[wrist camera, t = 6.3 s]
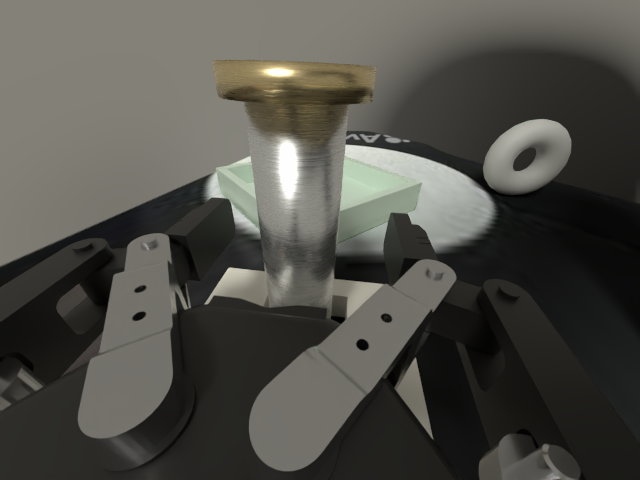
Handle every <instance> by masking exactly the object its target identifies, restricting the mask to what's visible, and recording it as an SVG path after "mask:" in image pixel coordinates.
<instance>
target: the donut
mask: <svg viewBox="0 0 640 480" xmlns="http://www.w3.org/2000/svg"><path fill="white" fill-rule="evenodd" d="M531 147H533V148H535V149H536V151H537V154H536V157H535V160H534V161H533V163H532V164H531V165H530V166H529V167H528V168H526V169H524V170H522V171H517V172H516V171H514V169H513V163H514V160H515V158H516V157H517V156H518V155H519V154H520V153H521V152H522V151H523V150H525V149H527V148H531ZM570 153H571V139H570V137H569V134H568V132H567V129H565V128H564V127H563V126H561V125H560V124H559V123H557V122H555V121H550V120H546V119H539V120H531V121H526V122H523V123H521V124H519V125H516V126H514V127H512V128H511V129H509V130H508V131H507V132H505V133H504V134H502V135H501V136H500V137H499V138H498V139H497V140H496V141H495V142H494V144H493V145H492V146H491V148H490V150H489V152H488V153H487V155H486V158H485V162H484V166H483V171H484V178H485V180H486V181H487V183H488V185H489V186H490V187H491V188H492V189H494V190H495V191H497V192H498V193H502V194H506V195H521V194H526V193H529V192H532V191H535V190H538V189H539V188H541V187H543V186H544V185H546V184H548V183H549V182H550V181H551V180H552V179H553V178H555V177H556V176H557V175H558V174H559V173H560V171H561V170H562V168H563V167H564V166H565V164H566V162H567V160H568V157H569V155H570Z"/></svg>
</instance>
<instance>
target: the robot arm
mask: <svg viewBox="0 0 640 480" xmlns="http://www.w3.org/2000/svg"><path fill="white" fill-rule="evenodd" d="M234 235H235V223H234V218H233V212H232V207H231V203H230V200H229V199H225V198H211V199H210V200H208V201H207V202H206V203H205V204H204V205H202V206H201V207H199V208H196V209H194V210H192V211H191V212H190V213H188V214H187V215H186V216H185V217H183V218H182V219H181V220H180V221H178V222H177V223H176V224H175V225H173V226H172V227H171V228H170V229H169V230H167V231H166V232H165V233H164V234H160V233H155V234H148V235H145V236H142V237H139V238H137V239H135V240H133V241H132V242H131V243H130V244H129V245H128V247H127V248H120V249H110V247H109V245H108V243H107V241H106V240H104V239H101V238H92V239H86V240H82V241H78V242H76V243H73V244H71V245H69V246H67V247H65V248H64V249H62V250H60V251H59V252H57V253H56V254H54V255H52V256H51V257H49V258H47V259H46V260H44V261H43V262H41V263H39V264H38V265H36V266H34V267H33V268H31V269H30V270H28V271H26V272H25V273H23V274H21V275H20V276H18V277H17V278H15V279H13V280H12V281H10V282H8V283H7V284H5V285H4V286H2V287H0V480H463V479H462V478H461V476H460V475H459V474H458V472H457V471H456V469H455V468H454V467H453V465H452V464H451V463H450V461H449V460H448V459H447V457H446V456H445V455H444V453H443V452H442V451H441V449H440V448H439V447H438V446H437V444H436V443H435V442H434V440H433V439H432V438H431V436H430V435H429V434H428V432H427V431H426V430H425V428H424V427H423V426H422V424H421V423H420V422H419V420H418V419H417V418H416V416H415V415H414V414H413V412H412V411H411V410H410V408H409V407H408V406H407V404H406V403H405V402H404V400H403V399H402V398H401V396H400V395H399V394H398V392H397V391H396V389H397V388H398V386H399V385H400V383H401V381H402V380H403V378H404V376H405V374H406V372H407V370H408V368H409V367H410V365H411V363H412V362H413V360H414V359H415V357H416V356H417V354H418V353H419V351H420V350H421V348H422V347H423V345H424V344H425V342H426V341H427V339H428V338H429V336H430V335H431V333H432V332H433V333H436V334H438V335H441V336H443V337H446V338H449V339H451V340H454V341H456V344H457V348H458V351H459V354H460V357H461V360H462V363H463V366H464V369H465V372H466V375H467V378H468V382H469V385H470V388H471V391H472V394H473V397H474V400H475V403H476V406H477V409H478V413H479V416H480V419H481V422H482V425H483V428H484V431H485V434H486V437H487V440H488V443H489V447H490V449H489V450H488V451H487V452H486V453H485V454H484V455H483V456H482V457H481V460H480V463H479V477H480V480H640V443H639V442H638V441H637V439H636V438H635V437H634V435H633V434H632V433H631V431H630V430H629V428H628V427H627V426H626V424H625V423H624V422H623V420H622V419H621V418H620V416H619V415H618V414H617V412H616V411H615V409H614V408H613V407H612V405H611V404H610V403H609V401H608V400H607V399H606V397H605V396H604V395H603V393H602V392H601V390H600V389H599V388H598V386H597V385H596V384H595V382H594V381H593V380H592V378H591V377H590V376H589V374H588V373H587V371H586V370H585V369H584V367H583V366H582V365H581V363H580V362H579V361H578V359H577V358H576V357H575V355H574V354H573V352H572V351H571V350H570V348H569V347H568V346H567V344H566V343H565V342H564V340H563V339H562V338H561V336H560V335H559V333H558V332H557V331H556V329H555V328H554V327H553V325H552V324H551V323H550V321H549V320H548V319H547V317H546V316H545V314H544V313H543V312H542V310H541V309H540V308H539V306H538V305H537V304H536V302H535V301H534V300H533V298H532V297H531V296H530V294H529V293H527V292H526V291H525V290H524V289H522V288H521V287H519V286H517V285H516V284H513V283H511V282H508V281H505V280H501V279H489V280H486V281H485V282H484V284H483V286H482V288H481V287H478V286H475V285H472V284H468V283H465V282H462V281H460V280H457V279H456V274H455V272H454V271H453V270H452V269H451V268H450V267H449V266H447V265H446V264H444V263H441V262H439V260H438V258H437V256H436V254H435V251H434V249H433V247H432V245H431V243H430V240H429V239H428V236H427V234H426V232H425V230H423V229H422V228H421V227H420V226H419V225H413V224H411V221H410V218H409V216H408V214H405V213H393V212H391V214H390V216H389V221H388V226H387V230H386V235H385V240H384V258H385V265H386V271H387V277H388V284H384V285H383V286H381V287H380V288H379V289H378V290H377V291H376V292H375V293H374V294H373V295H372V296H371V297H370V298H369V299H368V300H367V301H365V302H364V303H363V304H362V305H361V306H360V307H359V308H358V309H357V310H356V311H355V312H354V313H353V314H352V315H351V316H349V317H348V318H347V319H346V320H345V321H344V322H343V323H342V324H340V323H338V322H336V321H334V320H332V319H329V318H327V308H319V307H310V306H302V305H294V306H283V307H271V308H267V307H263V306H261V305H258V304H255V303H252V302H250V301H247V300H244V299H241V298H233V297H225V296H216V295H214V296H213V297H212V299H211V300H210V302H209V303H208V304H204V305H198V306H195V307H191V306H190V300H189V294H188V288H187V285H186V282H187V280H196V281H201V279H202V278H203V277H204V275H205V274H206V273H207V271H208V270H209V269H210V267H211V266H212V265H213V264H214V262H215V261H216V260H217V258H218V257H219V256H220V254H221V253H222V252H223V251H224V249H225V248H226V247H227V245H228V244H229V243H230V241H231V240H232V239H233V237H234ZM77 284H80V286H81V287H82V289H83V290H84V291H85V293H86V294H87V296H88V297H87V298H85V299H84V300H83V301H82V302H81V303H80V304H78V305H77V306H76V307H75V308H74V309H73V310H71V311H70V312H69V313H68V314H67V315H66V316H65V317H63V318H62V317H61V316H60V315H59V313H58V312H57V310H56V305H57V302H58V301H59V299H60V298H61V297H62V296H63V295H65V294H66V293H67V292H68V291H70V290H71V289H72V288H73V287H75V286H76V285H77ZM102 332H103V336H102V341H101V347H100V351H99V353H98V354H97V355H95V356H93V357H92V359H91V360H90V361H89V362H87V363H85V364H84V365H82V366H80V367H78V368H76V369H75V370H73V371H71V372H69V373H67V374H66V375H64V376H62V377H61V375H62V374H63V373H64V372H65V371H66V370H67V369H68V368H69V367H70V366H71V365H72V364H73V363H74V362H75V361H76V359H77V358H78V357H79V356H80V355H81V354H82V353H83V352H84V351H85V350H86V349H87V348H88V347H89V346H90V345H91V344H92V342H93V341H94V340H95V339H96V338H97V337H98V336H99V335H100V334H101V333H102Z"/></svg>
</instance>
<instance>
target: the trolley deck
mask: <svg viewBox="0 0 640 480" xmlns="http://www.w3.org/2000/svg"><path fill="white" fill-rule="evenodd" d="M383 285H384V284H377V283H367V282H358V281H348V280H339V279H334V287H333V299H332V311H331V316H337V317H345V320H346V319H347V318H348V317H349V316H351V315H352V314H353V313H354V312H355V311H356V310H357V309H358V308H359V307H360V306H361V305H362V304H363V303H364V302H365V301H367V300H368V299H369V298H370V297H371V296H372V295H373V294H374V293H375V292H376V291H377V290H378V289H379V288H380V287H381V286H383ZM214 295H216V296H225V297H233V298H241V299H244V300H247V301H250V302H252V303H255V304H258V305H261V306H263V307H267V308H270V307H269V299H268V291H267V283H266V275H265V272H264V271H255V270H245V269H236V268H228V270H227V271H226V273H225V274H224V276H223V277H222V279H221V280H220V282H219V283H218V285H217V286H216V288H215V289H214V291H213V292H212V294H211V295H210V297H209V298H208V300H207V301H206V303H205V304H208V303H209V302H210V300H211V299H212V297H213V296H214ZM396 391H397V392H398V394H399V395H400V396H401V398H402V399H403V400H404V402H405V403H406V404H407V406H408V407H409V408H410V410H411V411H412V412H413V414H414V415H415V416H416V418H417V419H418V420H419V422H420V423H421V424H422V426H423V427H424V428H425V430H426V431H427V432H428V434H429V435H430V436H431V438H432V439H433V436H432V431H431V427H430V422H429V417H428V413H427V408H426V403H425V399H424V394H423V389H422V384H421V380H420V375H419V370H418V366H417V361H416V357H415V359H414V360H413V362H412V363H411V365H410V367H409V368H408V370H407V372H406V374H405V376H404V378H403V380H402V381H401V383H400V385H399V386H398V388H397V389H396Z"/></svg>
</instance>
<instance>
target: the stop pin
mask: <svg viewBox="0 0 640 480" xmlns="http://www.w3.org/2000/svg"><path fill="white" fill-rule="evenodd" d="M212 65H213V70H214V77H215V82H216V88H217V93H218V97H219V98H223V99H228V100H235V101H244V106H245V114H246V121H247V130H248V138H249V146H250V154H251V162H252V170H253V178H254V186H255V194H256V202H257V210H258V218H259V226H260V234H261V243H262V251H263V259H264V267H265V275H266V283H267V291H268V299H269V307H270V308H271V307H283V306H294V305H302V306H310V307H319V308H327V318H329V319H331V311H332V299H333V287H334V275H335V263H336V251H337V239H338V226H339V214H340V202H341V190H342V178H343V166H344V154H345V142H346V130H347V118H348V105H349V104H360V103H368V102H371V101H372V99H373V91H374V84H375V76H376V67H371V66H361V65H349V64H333V63H315V62H292V61H260V60H258V61H257V60H256V61H255V60H216V61H212Z"/></svg>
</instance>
